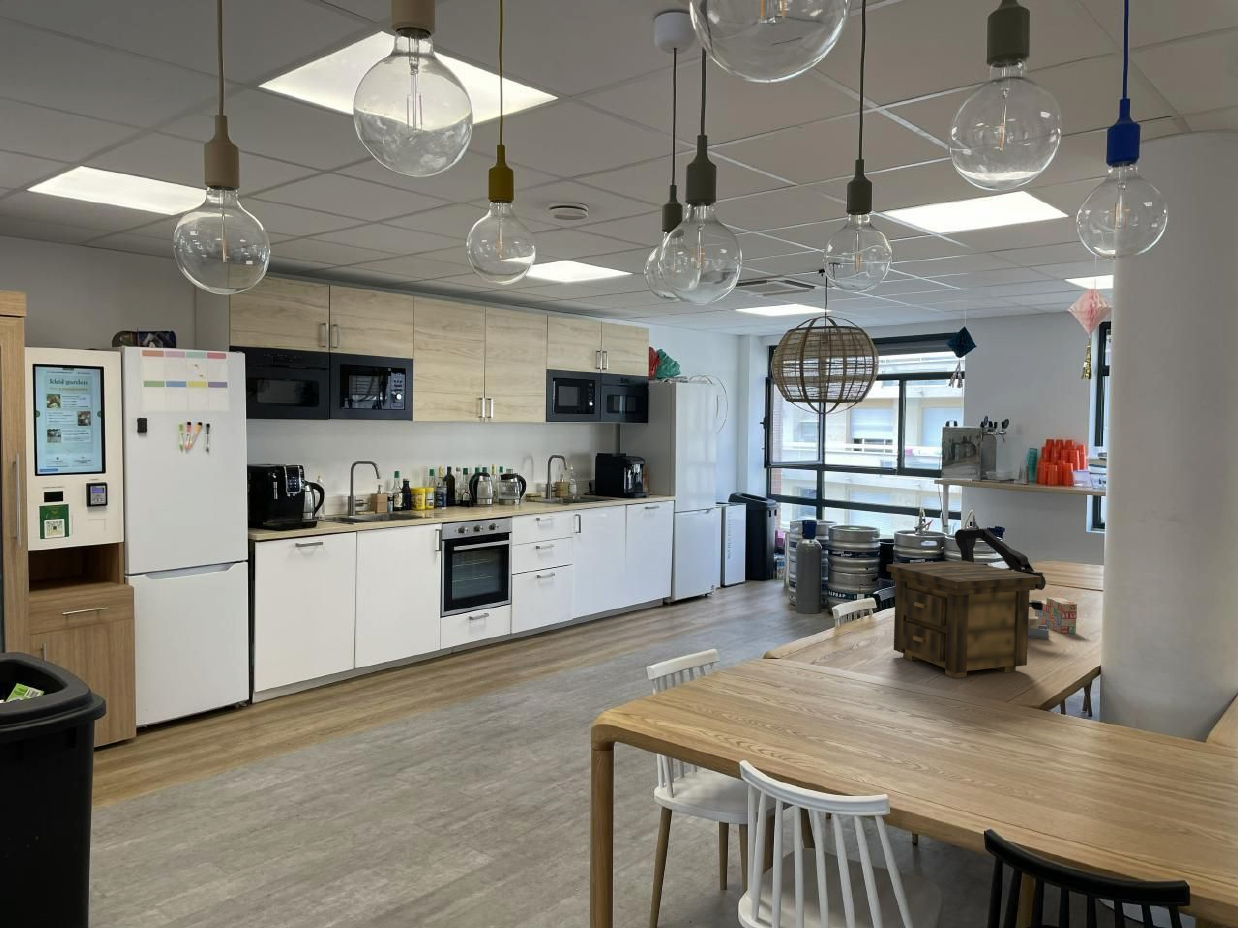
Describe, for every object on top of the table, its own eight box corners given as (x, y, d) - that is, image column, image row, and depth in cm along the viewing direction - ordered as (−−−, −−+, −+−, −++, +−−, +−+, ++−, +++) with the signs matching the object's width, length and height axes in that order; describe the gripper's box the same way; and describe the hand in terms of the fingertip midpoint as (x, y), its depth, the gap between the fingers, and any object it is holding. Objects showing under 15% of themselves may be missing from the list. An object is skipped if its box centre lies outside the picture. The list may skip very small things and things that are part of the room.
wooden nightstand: (1037, 673, 284) (1041, 576, 283) (954, 683, 272) (957, 581, 271) (961, 647, 317) (964, 560, 316) (883, 655, 305) (886, 564, 303)
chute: (992, 633, 340) (992, 624, 340) (992, 628, 348) (992, 620, 348) (1048, 639, 332) (1048, 630, 332) (1046, 634, 340) (1047, 625, 340)
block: (1021, 633, 337) (1021, 618, 337) (1020, 629, 343) (1021, 615, 342) (1038, 634, 335) (1038, 619, 335) (1037, 631, 340) (1037, 616, 340)
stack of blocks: (1034, 621, 364) (1035, 592, 363) (1048, 621, 364) (1049, 593, 364) (1060, 633, 343) (1062, 603, 342) (1076, 633, 343) (1077, 603, 342)
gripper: (991, 587, 336) (989, 626, 337) (1044, 591, 329) (1042, 631, 329) (991, 582, 347) (990, 620, 347) (1042, 586, 339) (1041, 625, 340)
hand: (1015, 624), depth 341 cm, fingers closed
